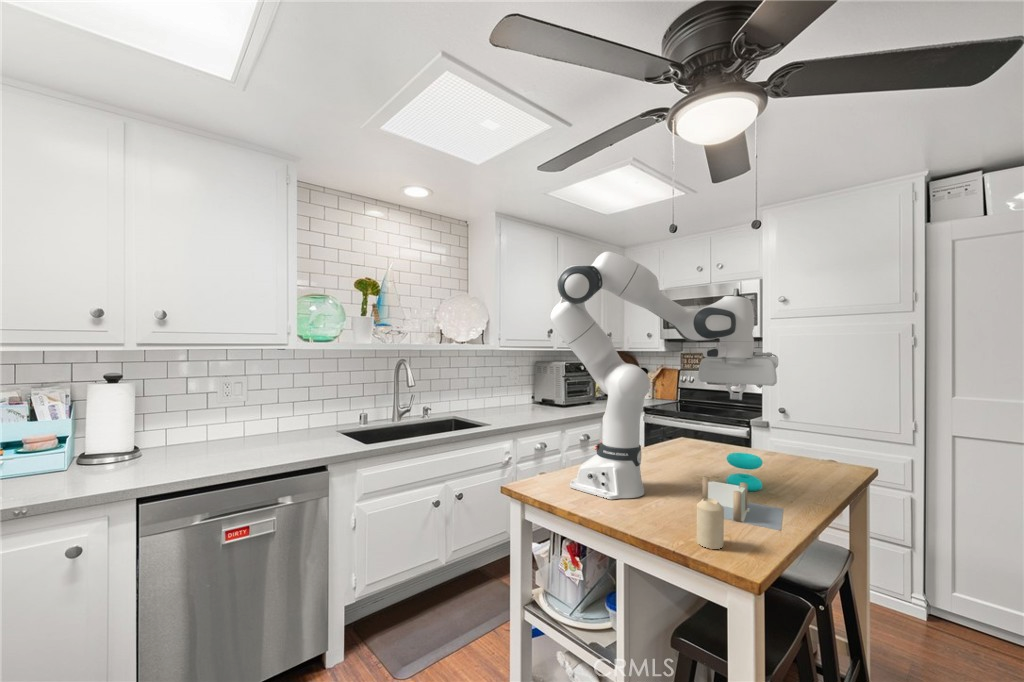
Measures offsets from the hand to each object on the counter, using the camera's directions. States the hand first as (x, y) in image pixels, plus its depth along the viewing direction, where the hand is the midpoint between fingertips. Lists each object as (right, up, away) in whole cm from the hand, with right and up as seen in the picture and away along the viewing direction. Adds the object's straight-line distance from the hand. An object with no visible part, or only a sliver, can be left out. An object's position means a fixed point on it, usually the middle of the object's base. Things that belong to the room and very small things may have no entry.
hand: (736, 399), depth 127 cm
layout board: (-3, -29, -9) cm, 31 cm away
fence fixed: (-6, -29, -6) cm, 30 cm away
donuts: (+8, -29, +11) cm, 33 cm away
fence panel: (-6, -28, -13) cm, 32 cm away
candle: (-20, -29, -29) cm, 46 cm away
